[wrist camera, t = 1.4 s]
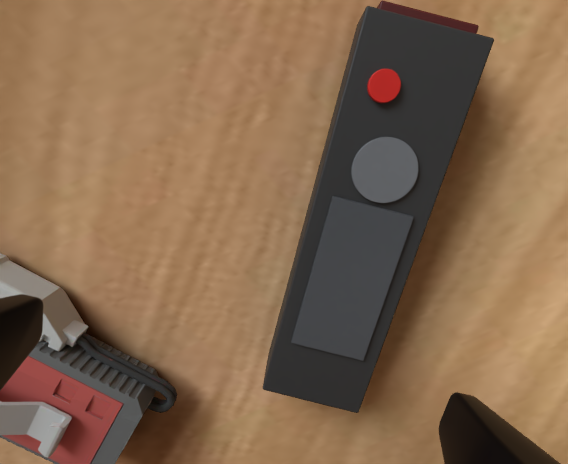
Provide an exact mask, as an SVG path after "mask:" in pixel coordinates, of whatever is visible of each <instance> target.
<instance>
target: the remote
mask: <svg viewBox="0 0 568 464" xmlns="http://www.w3.org/2000/svg"><path fill="white" fill-rule="evenodd" d="M477 30H478V25H475V24H471V23H467V22H463V21H459V20H455V19H452V18H448V17H444V16H440V15H436V14H432V13H428V12H424V11H421V10H417V9H413V8H409V7H405V6H401V5H397V4H393V3H390V2H386V1H381V2H380V4H379V5H378V7H377V8H374V7H370V6H367V7H366V9H365V11H364V13H363V15H362V17H361V19H360V21H359V23H358V25H357V28H356V32H355V35H354V39H353V43H352V46H351V50H350V54H349V58H348V61H347V65H346V69H345V72H344V76H343V80H342V84H341V87H340V91H339V95H338V98H337V102H336V106H335V110H334V113H333V117H332V121H331V124H330V128H329V132H328V136H327V139H326V143H325V147H324V151H323V154H322V158H321V162H320V165H319V169H318V173H317V177H316V180H315V184H314V188H313V191H312V195H311V199H310V203H309V206H308V210H307V214H306V217H305V221H304V225H303V229H302V232H301V236H300V240H299V243H298V247H297V251H296V255H295V258H294V262H293V266H292V270H291V273H290V277H289V281H288V284H287V288H286V292H285V296H284V299H283V303H282V307H281V310H280V314H279V318H278V322H277V325H276V329H275V333H274V336H273V340H272V344H271V348H270V351H269V355H268V360H267V366H266V372H265V378H264V384H263V389H264V390H267V391H271V392H275V393H279V394H283V395H287V396H291V397H295V398H299V399H303V400H307V401H311V402H315V403H319V404H323V405H327V406H331V407H335V408H339V409H343V410H347V411H351V412H356V413H358V412H359V409H360V407H361V404H362V401H363V398H364V396H365V393H366V390H367V387H368V385H369V382H370V379H371V376H372V374H373V371H374V368H375V365H376V363H377V360H378V357H379V354H380V352H381V349H382V346H383V343H384V341H385V338H386V335H387V332H388V330H389V327H390V324H391V321H392V319H393V316H394V313H395V310H396V308H397V305H398V302H399V300H400V297H401V294H402V291H403V289H404V286H405V283H406V280H407V278H408V275H409V272H410V269H411V267H412V264H413V261H414V258H415V256H416V253H417V250H418V247H419V245H420V242H421V239H422V236H423V234H424V231H425V228H426V225H427V223H428V220H429V217H430V214H431V212H432V209H433V206H434V203H435V201H436V198H437V195H438V192H439V190H440V187H441V184H442V181H443V179H444V176H445V173H446V171H447V168H448V165H449V162H450V160H451V157H452V154H453V151H454V149H455V146H456V143H457V140H458V138H459V135H460V132H461V129H462V127H463V124H464V121H465V118H466V116H467V113H468V110H469V107H470V105H471V102H472V99H473V96H474V94H475V91H476V88H477V85H478V83H479V80H480V77H481V74H482V72H483V69H484V66H485V63H486V61H487V58H488V55H489V53H490V50H491V47H492V44H493V42H494V39H493V38H490V37H486V36H482V35H479V34H476V33H477Z"/></svg>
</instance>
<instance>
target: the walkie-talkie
mask: <svg viewBox="0 0 568 464" xmlns="http://www.w3.org/2000/svg"><path fill="white" fill-rule="evenodd" d="M19 294H25V295H29V296H34V297H38V298H40V299H41V300H42V301H43V305H44V308H43V331H42V336H41V338H40V340H39V342H38V344H37V345H36V346H35V348H34V349H33V350H32V351H31V353H30V354H29V355H28V357H27V358H26V359H25V360H24V362H23V363H22V364H21V365H20V367H19V368H18V369H17V370H16V372H15V373H14V374H13V375H12V377H11V378H10V379H9V381H8V382H7V383H6V384H5V386H4V387H3V388H2V389H1V391H0V438H3V439H5V440H7V441H8V442H11V443H13V444H15V445H16V446H19V447H22V448H24V449H25V450H27V451H30V452H32V453H34V454H35V455H37V456H40V457H42V458H44V459H45V460H49V461H51V462H53V463H54V464H115V463H116V461H117V459H118V457H119V456H120V454H121V452H122V450H123V449H124V447H125V445H126V443H127V442H128V440H129V438H130V437H131V435H132V433H133V431H134V430H135V428H136V426H137V424H138V423H139V421H140V419H141V417H142V416H143V414H144V412H145V410H147V408H149V409H151V410H153V411H156V412H160V413H161V412H166V411H168V410H169V409H170V408H171V407H172V406H173V405H174V402H175V401H176V398H177V393H176V390H175V388H174V387H173V386H172V385H171V384H170V383H168V382H167V381H166V380H164V379H162V378H160V377H158V374H157V372H156V370H155V369H153V368H151V367H149V366H148V365H146V364H143V363H141V362H140V361H139V360H136V359H134V358H132V357H131V356H129V355H126V354H124V353H122V352H121V351H118V350H116V349H115V348H113V347H112V346H109V345H107V344H105V343H104V342H102V341H99V340H97V339H96V338H94V337H91V336H90V335H88V334H87V333H86V331H87V329H88V327H89V326H87V325H85V324H84V322H83V320H82V319H81V317H80V315H79V314H78V312H77V311H76V309H75V307H74V306H73V304H72V302H71V301H70V299H69V297H68V296H67V294H66V293H65V291H64V290H63V289H62V288H61V287H59V286H57V285H55V284H53V283H51V282H49V281H47V280H45V279H44V278H42V277H40V276H38V275H36V274H34V273H32V272H30V271H29V270H27V269H25V268H23V267H21V266H19V265H17V264H15V263H14V262H12V261H10V260H9V258H8V257H7V256H6V255H4V254H2V253H0V298H4V297H9V296H14V295H19ZM156 391H159V392H160V393H162V394H163V395H164V396H165V397H166V399H167V400H162V399H158V398H156V397H154V394H155V392H156Z"/></svg>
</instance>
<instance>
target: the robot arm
mask: <svg viewBox="0 0 568 464" xmlns="http://www.w3.org/2000/svg"><path fill="white" fill-rule="evenodd" d="M43 308H44V305H43V301H42V300H41V299H40V298H38V297H34V296H29V295H25V294H19V295H14V296H9V297H4V298H0V391H1V389H2V388H3V387H4V386H5V384H6V383H7V382H8V381H9V379H10V378H11V377H12V375H13V374H14V373H15V372H16V370H17V369H18V368H19V367H20V365H21V364H22V363H23V362H24V360H25V359H26V358H27V357H28V355H29V354H30V353H31V351H32V350H33V349H34V348H35V346H36V345H37V344H38V342H39V340H40V338H41V336H42V331H43ZM439 436H440V442H441V447H442V452H443V457H444V462H445V464H560V463H559V462H558V461H556V460H555V459H554V458H552V457H551V456H550V455H549V454H547V453H546V452H545V451H543V450H542V449H541V448H540V447H538V446H537V445H536V444H534V443H533V442H532V441H531V440H529V439H528V438H527V437H526V436H524V435H523V434H522V433H520V432H519V431H518V430H517V429H515V428H514V427H513V426H511V425H510V424H509V423H508V422H506V421H505V420H504V419H502V418H501V417H500V416H499V415H497V414H496V413H495V412H493V411H492V410H491V409H490V408H488V407H487V406H486V405H485V404H483V403H482V402H481V401H479V400H478V399H477V398H475V397H474V396H471V395H466V394H462V393H454V394H452V395H451V397H450V399H449V401H448V404H447V406H446V409H445V411H444V414H443V416H442V418H441V421H440V425H439Z"/></svg>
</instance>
